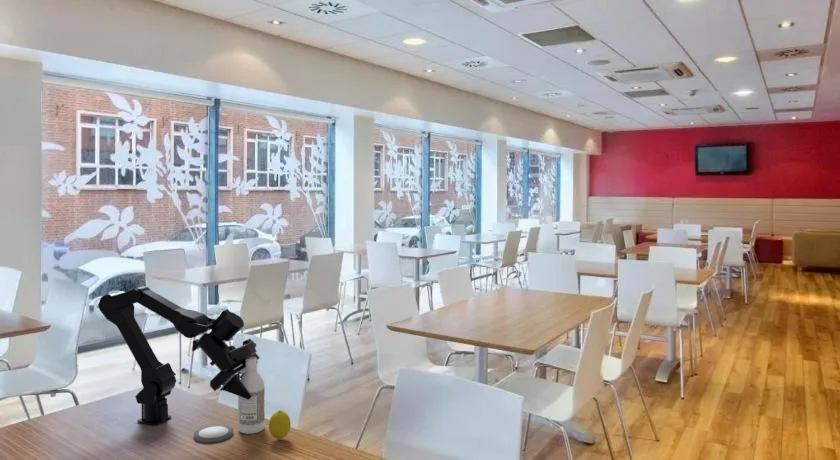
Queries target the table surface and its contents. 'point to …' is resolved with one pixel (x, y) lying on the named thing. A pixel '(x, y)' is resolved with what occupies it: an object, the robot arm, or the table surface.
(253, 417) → the bath foam
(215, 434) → the dock pad
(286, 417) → the lemon
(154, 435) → the table surface
